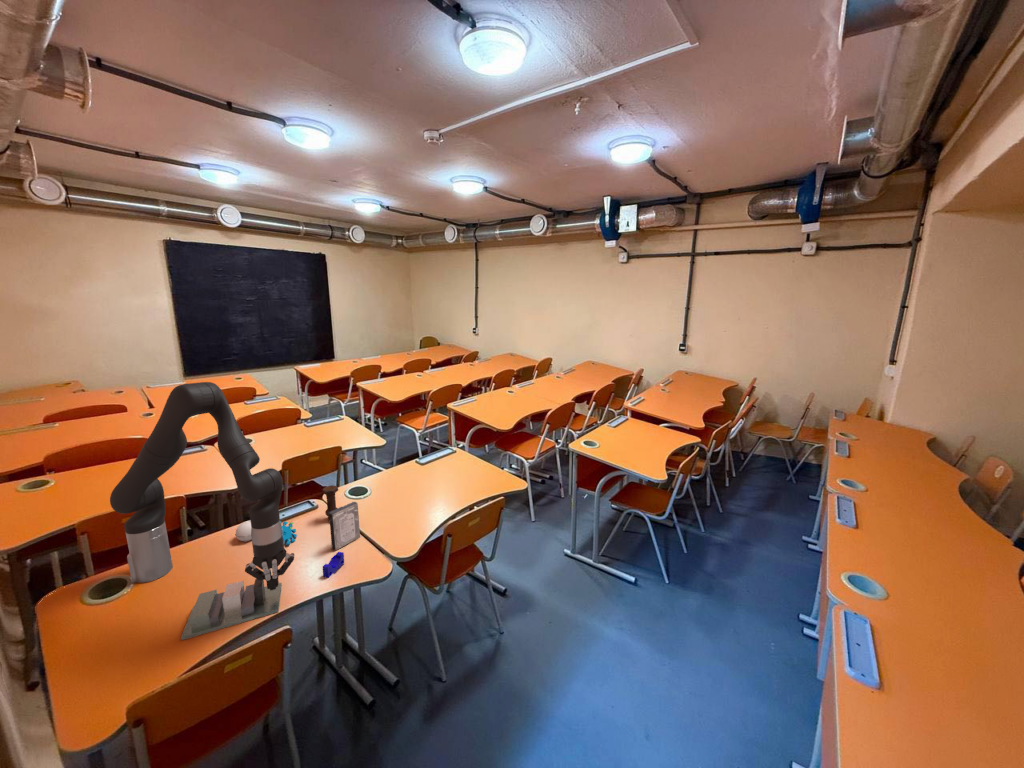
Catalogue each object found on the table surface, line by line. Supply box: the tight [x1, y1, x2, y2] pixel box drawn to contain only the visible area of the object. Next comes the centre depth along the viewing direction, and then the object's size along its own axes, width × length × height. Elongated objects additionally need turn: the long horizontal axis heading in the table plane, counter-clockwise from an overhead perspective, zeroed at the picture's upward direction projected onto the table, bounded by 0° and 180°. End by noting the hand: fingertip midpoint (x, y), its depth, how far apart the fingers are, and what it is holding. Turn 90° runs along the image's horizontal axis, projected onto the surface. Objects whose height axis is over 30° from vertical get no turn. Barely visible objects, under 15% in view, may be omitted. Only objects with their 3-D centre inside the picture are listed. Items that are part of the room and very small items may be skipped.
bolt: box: [322, 484, 339, 522], centre depth 155 cm, size 6×5×15 cm
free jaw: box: [241, 578, 266, 617], centre depth 111 cm, size 5×10×6 cm, turn 27°
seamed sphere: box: [234, 520, 252, 543], centre depth 142 cm, size 10×7×7 cm
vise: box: [180, 582, 283, 641], centre depth 109 cm, size 22×12×5 cm, turn 117°
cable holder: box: [322, 551, 345, 579], centre depth 128 cm, size 8×4×4 cm, turn 167°
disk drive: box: [328, 501, 361, 551], centre depth 141 cm, size 10×3×15 cm, turn 145°
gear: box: [280, 520, 298, 546], centre depth 142 cm, size 11×6×10 cm
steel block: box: [222, 580, 245, 617], centre depth 109 cm, size 4×6×6 cm, turn 27°
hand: (273, 588), depth 114 cm, fingers closed
